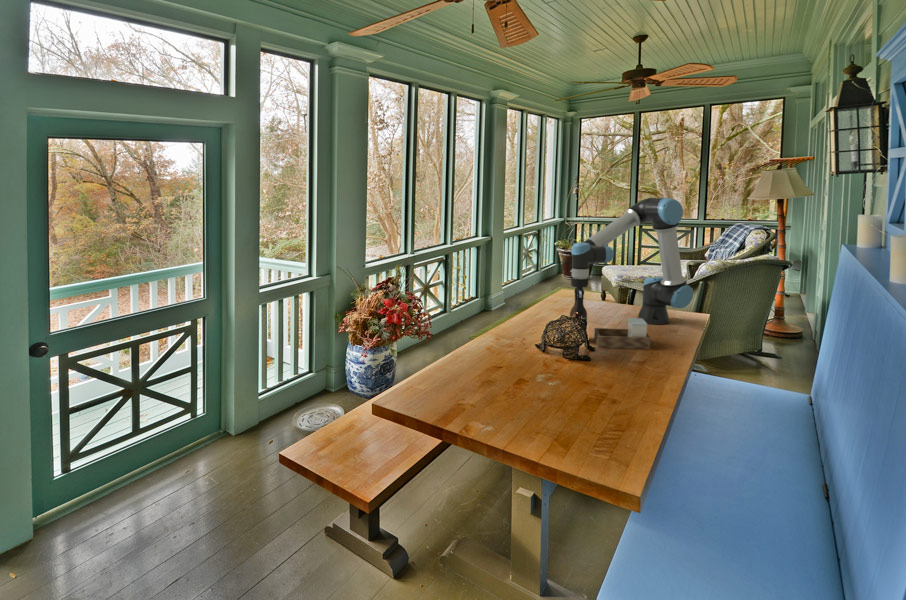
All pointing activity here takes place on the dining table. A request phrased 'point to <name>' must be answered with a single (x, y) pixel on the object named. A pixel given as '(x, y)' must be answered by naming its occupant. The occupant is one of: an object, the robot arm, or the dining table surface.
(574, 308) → the beer bottle
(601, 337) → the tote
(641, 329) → the carton
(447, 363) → the dining table surface
